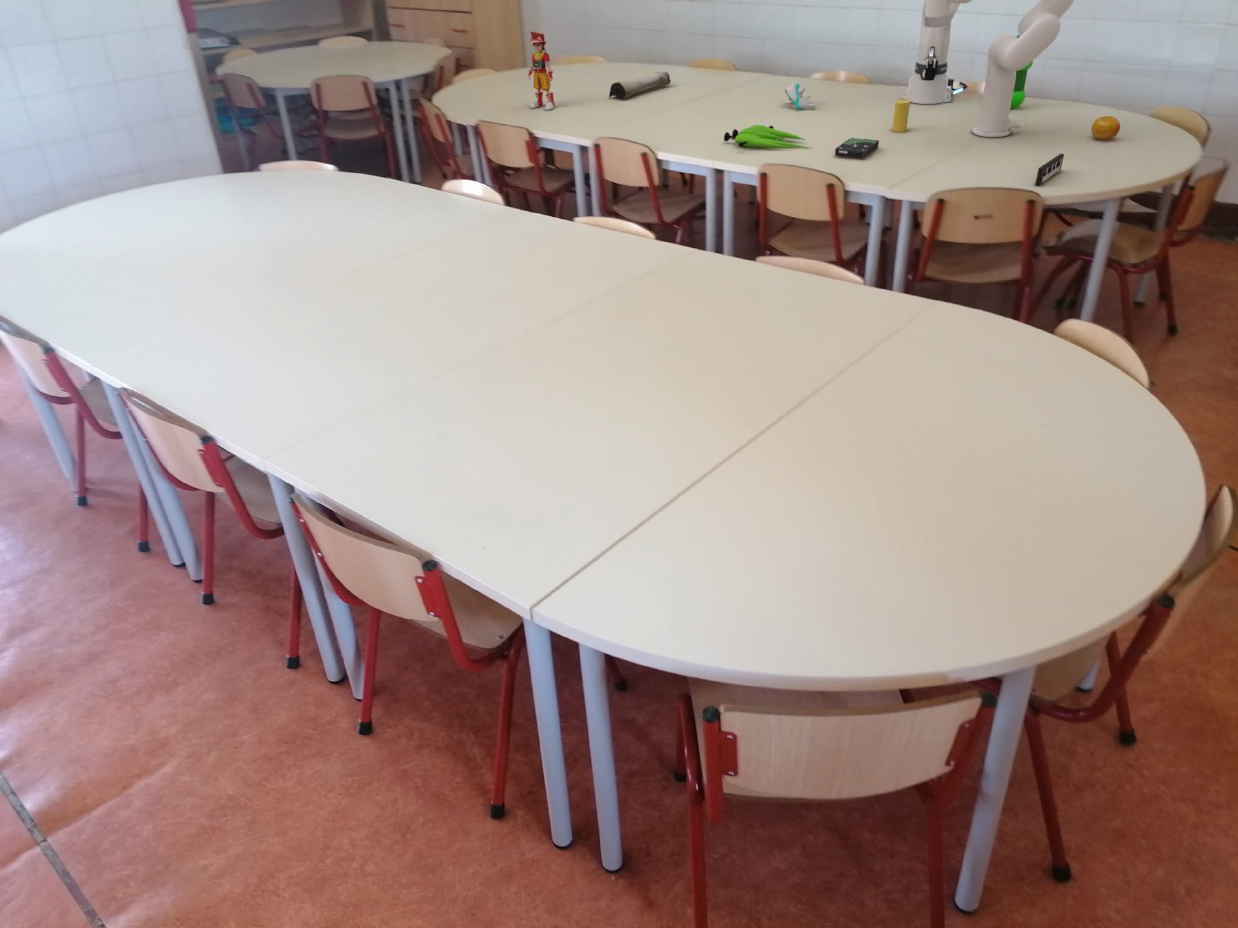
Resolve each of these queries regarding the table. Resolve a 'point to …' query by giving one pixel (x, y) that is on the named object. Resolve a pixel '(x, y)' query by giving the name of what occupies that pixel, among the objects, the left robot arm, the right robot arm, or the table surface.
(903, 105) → the tin
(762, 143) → the toy
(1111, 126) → the fruit
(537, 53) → the toy
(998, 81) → the right robot arm
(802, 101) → the anatomical model
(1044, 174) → the midi keyboard
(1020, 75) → the green dumbbell
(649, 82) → the rolled mat
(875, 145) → the disk drive
